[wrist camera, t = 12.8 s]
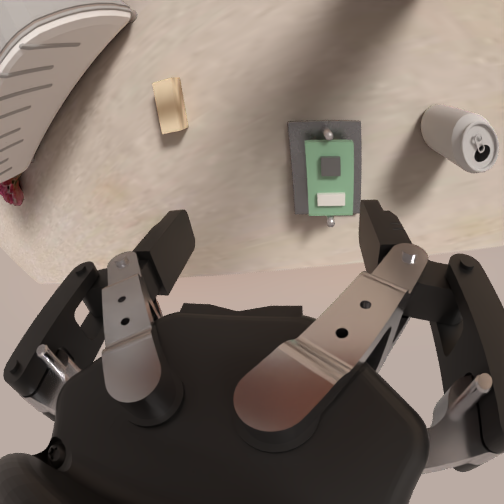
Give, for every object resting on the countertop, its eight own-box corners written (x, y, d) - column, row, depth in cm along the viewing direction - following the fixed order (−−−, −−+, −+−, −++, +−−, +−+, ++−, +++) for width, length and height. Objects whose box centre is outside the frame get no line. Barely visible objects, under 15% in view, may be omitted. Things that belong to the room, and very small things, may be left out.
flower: (29, 192, 53) (-2, 201, 46) (26, 157, 48) (-6, 165, 41) (31, 207, 47) (-4, 218, 40) (26, 167, 42) (-11, 177, 35)
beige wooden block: (161, 82, 33) (152, 83, 31) (179, 77, 33) (170, 77, 30) (170, 130, 38) (162, 134, 35) (188, 127, 37) (180, 130, 35)
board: (304, 140, 32) (304, 143, 30) (351, 139, 31) (354, 143, 29) (308, 211, 37) (309, 218, 36) (351, 210, 36) (353, 217, 34)
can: (432, 159, 33) (471, 189, 23) (409, 117, 30) (448, 133, 21) (465, 137, 29) (509, 161, 19) (444, 95, 27) (490, 105, 17)
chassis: (287, 121, 35) (285, 128, 29) (359, 120, 32) (370, 127, 27) (295, 211, 42) (294, 232, 37) (358, 210, 40) (366, 231, 35)
